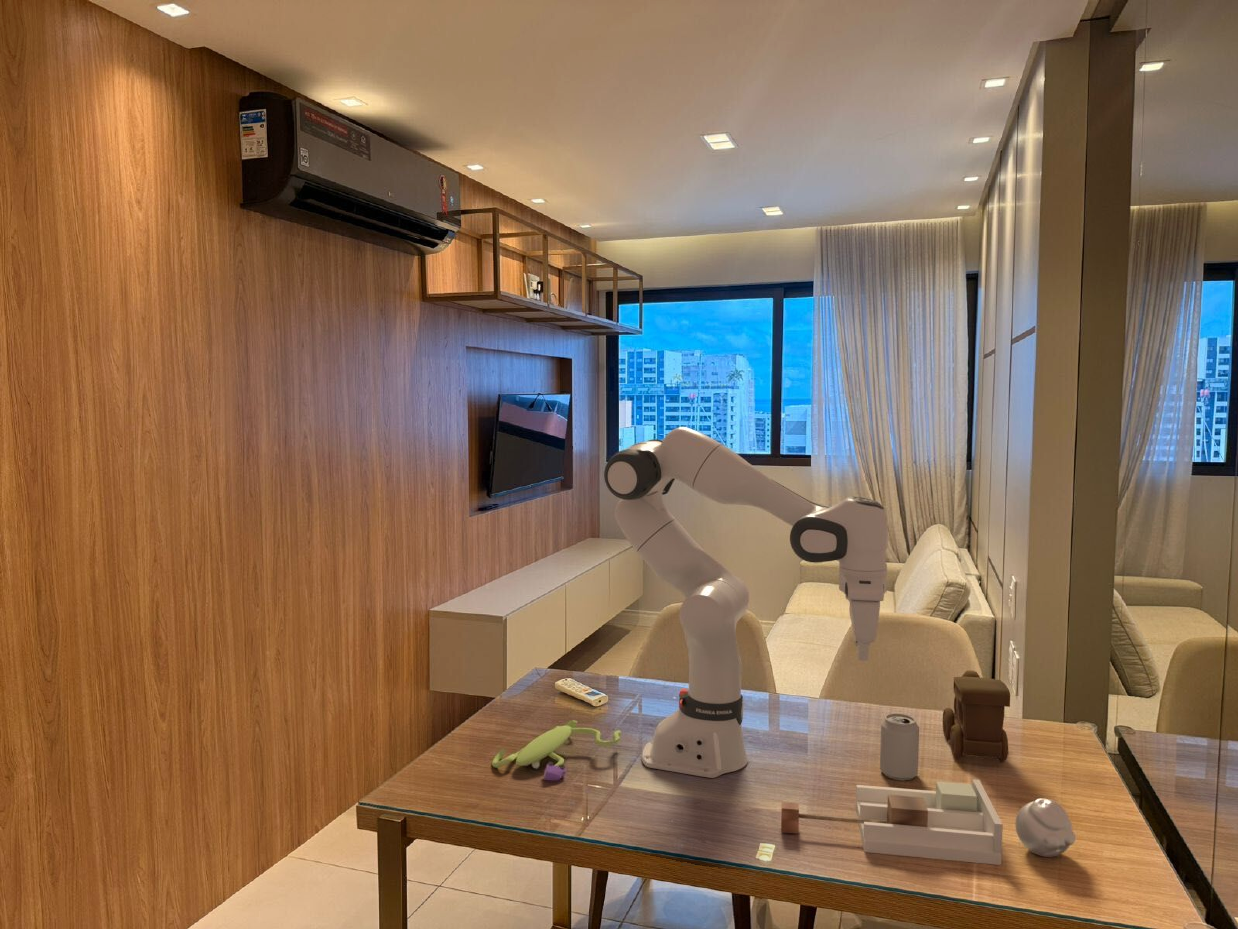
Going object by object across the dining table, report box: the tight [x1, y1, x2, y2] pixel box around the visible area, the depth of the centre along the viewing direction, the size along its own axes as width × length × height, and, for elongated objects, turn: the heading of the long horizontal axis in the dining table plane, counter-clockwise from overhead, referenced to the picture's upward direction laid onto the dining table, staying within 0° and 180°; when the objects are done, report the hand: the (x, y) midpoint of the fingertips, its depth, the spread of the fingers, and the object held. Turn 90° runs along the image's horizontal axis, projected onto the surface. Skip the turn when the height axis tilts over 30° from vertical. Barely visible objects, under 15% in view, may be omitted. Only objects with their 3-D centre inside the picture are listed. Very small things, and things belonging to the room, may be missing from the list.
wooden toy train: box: [942, 670, 1011, 763], centre depth 190 cm, size 20×11×17 cm, turn 168°
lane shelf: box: [855, 778, 1004, 866], centre depth 153 cm, size 22×17×7 cm
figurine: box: [491, 719, 622, 782], centre depth 185 cm, size 18×27×6 cm
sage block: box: [935, 781, 977, 812], centre depth 156 cm, size 6×5×5 cm
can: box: [879, 712, 920, 781], centre depth 177 cm, size 8×8×12 cm
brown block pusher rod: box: [780, 795, 928, 835], centre depth 152 cm, size 24×5×7 cm, turn 80°
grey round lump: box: [1014, 797, 1076, 858], centre depth 146 cm, size 9×10×10 cm
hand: (861, 652), depth 167 cm, fingers open, 8 cm apart
